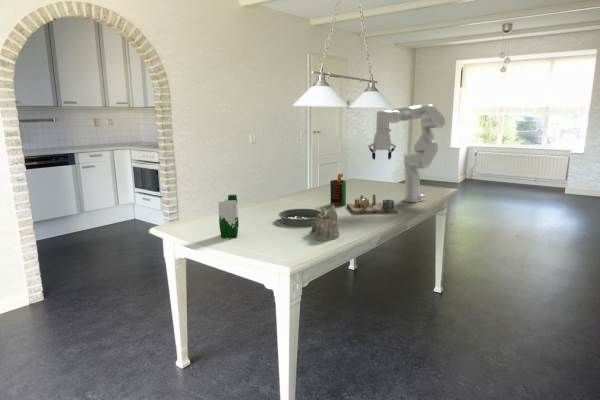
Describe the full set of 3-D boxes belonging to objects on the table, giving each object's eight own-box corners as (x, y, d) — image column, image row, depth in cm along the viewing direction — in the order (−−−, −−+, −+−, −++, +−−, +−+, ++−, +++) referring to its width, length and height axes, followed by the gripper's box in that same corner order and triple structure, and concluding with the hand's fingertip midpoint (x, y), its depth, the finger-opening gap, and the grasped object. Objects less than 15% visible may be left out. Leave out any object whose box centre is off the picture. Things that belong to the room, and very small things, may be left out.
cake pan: (269, 221, 227) (269, 213, 227) (303, 214, 243) (303, 206, 242) (298, 229, 209) (298, 221, 208) (332, 221, 224) (332, 213, 223)
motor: (328, 205, 265) (328, 174, 261) (333, 202, 273) (334, 172, 269) (343, 206, 260) (343, 175, 256) (348, 204, 268) (348, 173, 264)
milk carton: (238, 238, 194) (236, 196, 190) (219, 239, 194) (216, 197, 190) (239, 233, 203) (238, 193, 199) (221, 233, 202) (219, 194, 198)
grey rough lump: (320, 228, 208) (319, 200, 204) (346, 236, 198) (346, 206, 193) (299, 237, 198) (298, 207, 194) (325, 245, 187) (324, 214, 183)
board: (387, 205, 261) (387, 192, 259) (397, 212, 242) (397, 198, 240) (346, 207, 259) (347, 193, 257) (353, 214, 239) (354, 200, 238)
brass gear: (367, 203, 258) (367, 197, 257) (370, 206, 249) (370, 200, 248) (353, 204, 257) (353, 198, 256) (356, 207, 249) (356, 200, 248)
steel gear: (392, 206, 249) (392, 199, 248) (395, 209, 243) (395, 201, 242) (381, 206, 249) (381, 199, 248) (384, 209, 242) (384, 201, 241)
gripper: (394, 131, 257) (393, 158, 260) (367, 131, 255) (366, 158, 259) (398, 131, 249) (397, 159, 252) (370, 131, 248) (369, 159, 251)
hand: (381, 159), depth 256 cm, fingers open, 9 cm apart
